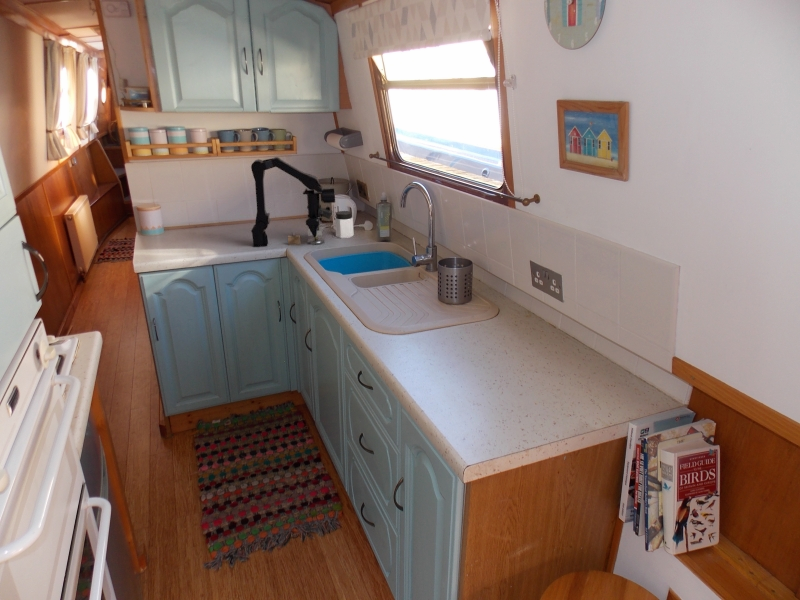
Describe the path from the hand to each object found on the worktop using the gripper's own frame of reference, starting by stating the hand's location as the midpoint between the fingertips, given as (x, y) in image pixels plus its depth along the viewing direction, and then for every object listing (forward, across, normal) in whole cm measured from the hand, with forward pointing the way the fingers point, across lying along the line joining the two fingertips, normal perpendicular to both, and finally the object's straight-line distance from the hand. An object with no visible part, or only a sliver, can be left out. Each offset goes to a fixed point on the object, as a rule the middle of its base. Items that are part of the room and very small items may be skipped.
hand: (315, 235), depth 273 cm
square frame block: (-1, 0, 0) cm, 1 cm away
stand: (+4, -2, +10) cm, 11 cm away
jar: (+4, +12, -13) cm, 18 cm away
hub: (+4, 0, 0) cm, 4 cm away
